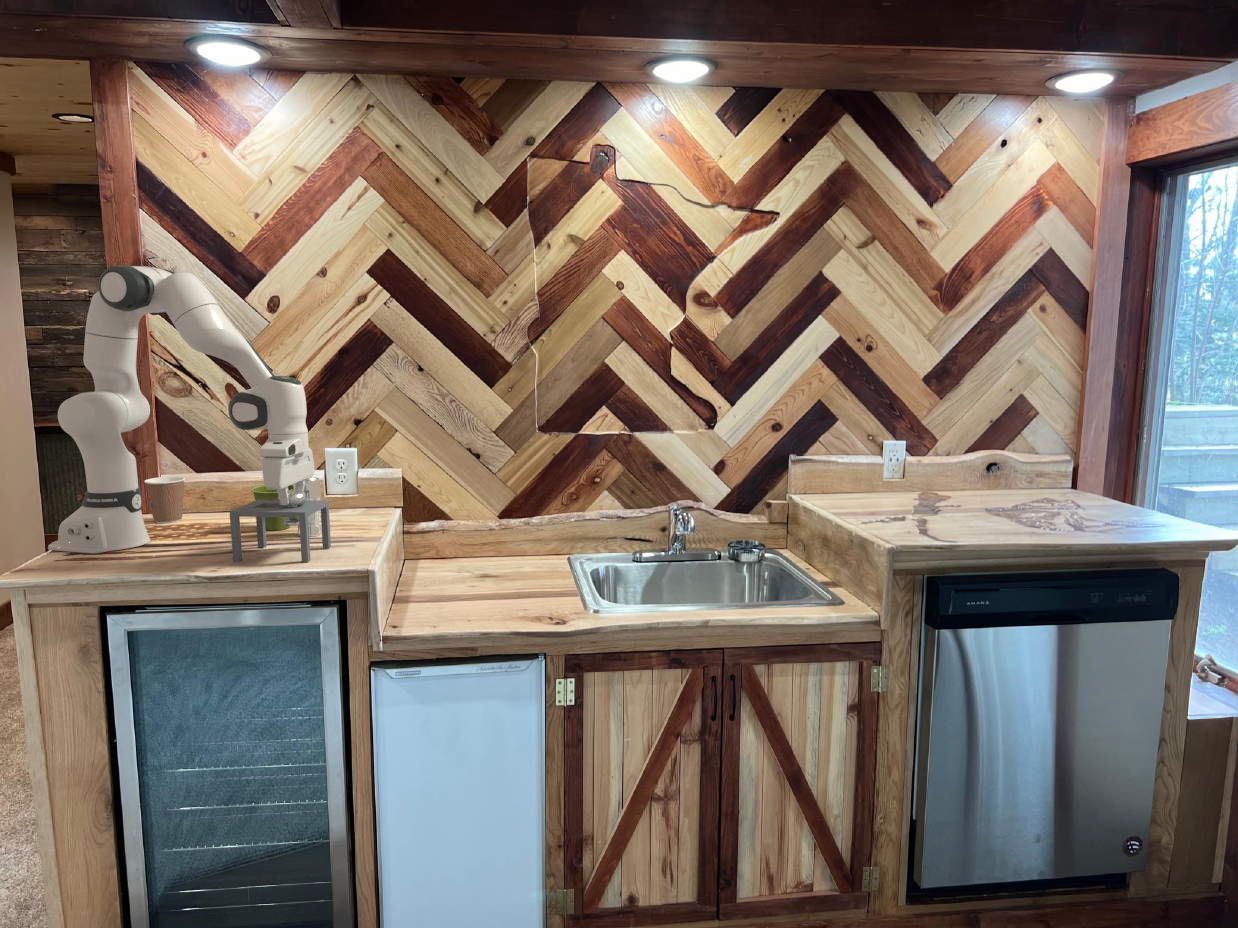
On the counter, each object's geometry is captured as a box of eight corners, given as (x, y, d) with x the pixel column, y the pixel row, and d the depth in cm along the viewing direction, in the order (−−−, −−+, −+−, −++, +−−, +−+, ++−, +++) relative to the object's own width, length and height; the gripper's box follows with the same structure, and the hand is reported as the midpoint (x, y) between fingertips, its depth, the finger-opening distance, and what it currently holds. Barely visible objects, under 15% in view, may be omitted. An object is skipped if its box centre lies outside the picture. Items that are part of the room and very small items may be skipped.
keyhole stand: (233, 561, 199) (229, 511, 198) (260, 546, 213) (257, 499, 211) (308, 562, 199) (305, 512, 197) (331, 547, 212) (328, 500, 210)
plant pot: (244, 532, 228) (242, 491, 226) (268, 522, 240) (265, 483, 238) (286, 533, 227) (284, 492, 225) (307, 523, 238) (305, 484, 237)
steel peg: (276, 526, 202) (274, 495, 201) (287, 521, 208) (285, 490, 207) (300, 527, 201) (298, 495, 200) (311, 521, 207) (309, 490, 206)
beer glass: (327, 531, 229) (324, 477, 226) (316, 538, 222) (312, 481, 220) (302, 531, 230) (299, 476, 227) (290, 537, 223) (287, 481, 220)
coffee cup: (157, 517, 246) (153, 476, 245) (194, 516, 248) (190, 476, 246) (141, 525, 236) (137, 483, 234) (179, 524, 237) (176, 482, 236)
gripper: (294, 439, 212) (297, 493, 214) (256, 450, 192) (259, 510, 194) (319, 439, 212) (322, 493, 214) (283, 450, 191) (286, 510, 194)
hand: (292, 501), depth 204 cm, fingers closed on steel peg, 6 cm apart
